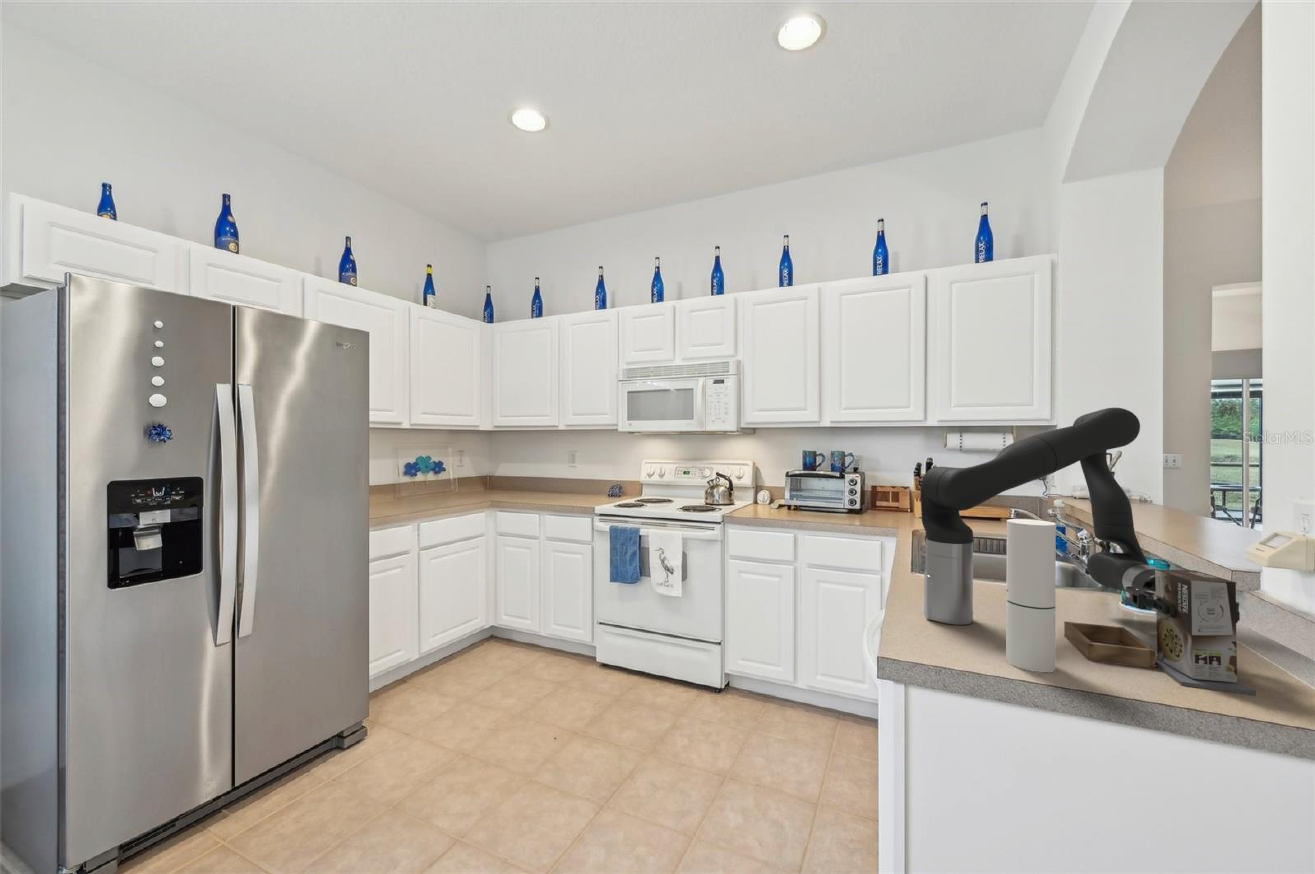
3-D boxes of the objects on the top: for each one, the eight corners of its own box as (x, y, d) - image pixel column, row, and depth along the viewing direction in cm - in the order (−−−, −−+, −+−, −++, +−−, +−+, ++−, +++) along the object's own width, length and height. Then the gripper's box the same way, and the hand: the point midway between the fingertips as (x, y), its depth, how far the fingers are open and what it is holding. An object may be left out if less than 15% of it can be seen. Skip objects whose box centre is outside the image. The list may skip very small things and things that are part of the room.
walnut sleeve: (1088, 660, 98) (1088, 643, 98) (1064, 636, 110) (1064, 621, 110) (1155, 668, 95) (1155, 651, 95) (1123, 642, 107) (1123, 627, 107)
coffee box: (1240, 683, 87) (1238, 582, 88) (1191, 679, 89) (1190, 579, 89) (1197, 661, 96) (1196, 569, 96) (1154, 658, 98) (1153, 567, 98)
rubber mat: (1181, 685, 88) (1181, 681, 88) (1145, 657, 100) (1145, 654, 100) (1255, 695, 85) (1255, 691, 85) (1209, 665, 96) (1209, 661, 96)
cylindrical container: (1050, 660, 98) (1050, 520, 98) (1059, 675, 92) (1060, 526, 92) (1003, 653, 101) (1003, 518, 101) (1009, 668, 95) (1010, 523, 95)
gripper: (1109, 565, 108) (1149, 587, 93) (1202, 572, 103) (1261, 596, 88) (1109, 603, 108) (1149, 631, 93) (1202, 611, 103) (1261, 642, 88)
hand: (1203, 614), depth 90 cm, fingers open, 7 cm apart
